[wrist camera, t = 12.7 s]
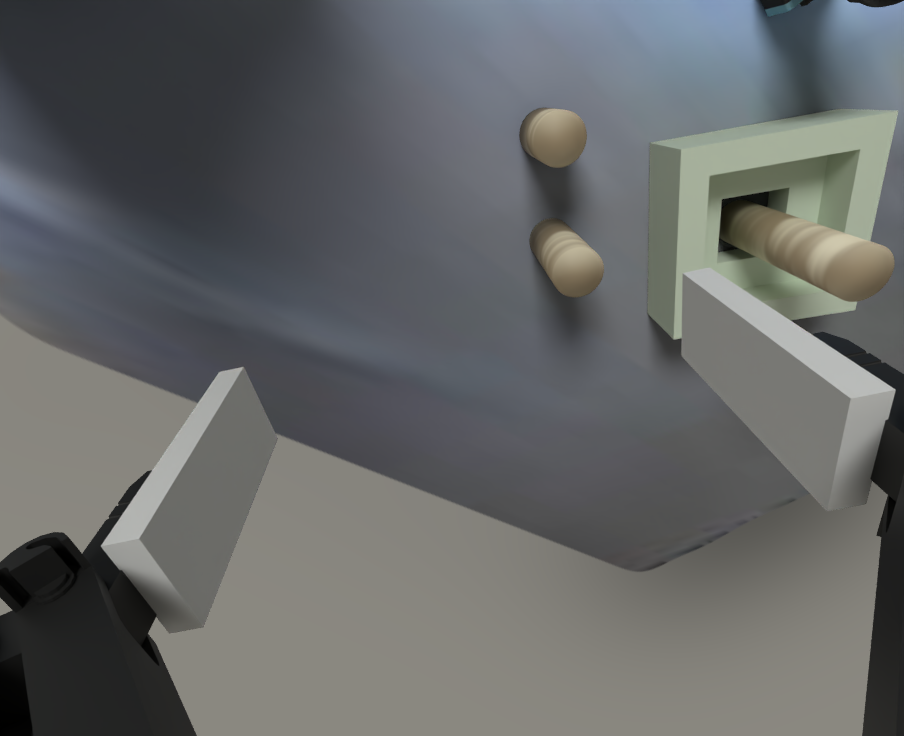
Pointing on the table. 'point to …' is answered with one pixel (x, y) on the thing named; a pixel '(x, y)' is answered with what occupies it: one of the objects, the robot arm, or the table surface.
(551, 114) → the short birch dowel
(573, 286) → the medium birch dowel
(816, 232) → the long birch dowel
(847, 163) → the sage socket block
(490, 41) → the table surface
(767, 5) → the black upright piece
